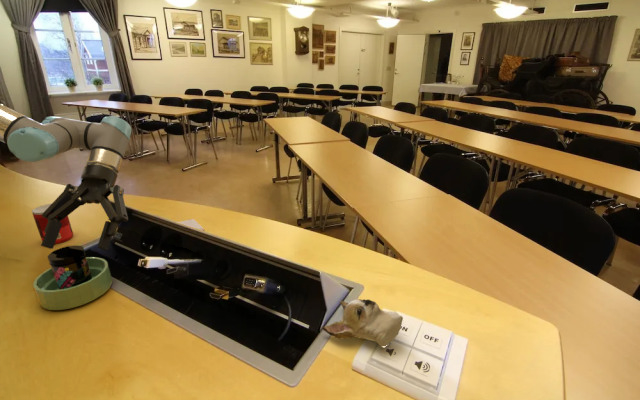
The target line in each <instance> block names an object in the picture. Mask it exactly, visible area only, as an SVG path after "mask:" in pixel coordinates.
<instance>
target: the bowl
mask: <svg viewBox="0 0 640 400" xmlns="http://www.w3.org/2000/svg"><path fill="white" fill-rule="evenodd" d="M86 258H87V262H88V265H89V269H90V272H91V275H92V279H91V280H89V281H87V282H85V283H82V284H80V285H77V286H74V287H70V288H67V289H60V290H59V289H58V286H57V283H56V280H55V277H54V274H53V271H52V269H51V267H50V268H48V269H46V270H45V271H43V272H42V273H40V274H38V276H37V277H36V278H35V279H34V280H33V283H32V288H33V290H34V292H35V295H36V298H37V301H38V303H39V305H40V306H41V308H43V309H46V310H48V311H63V310H68V309H73V308H74V309H75V308H77V307H79V306H83V305H86V304H89V303H90V302H92V301H95V300H96V299H98V298H99V297H102V295H104V294H105V293H106V292H107V291H108V290H109V289H110V288H111V286H112V284H113V277H112V274H111V269H110V266H109V262H108V261H107V260H106V259H105V258H101V257H97V256H90V257H89V256H86Z"/></svg>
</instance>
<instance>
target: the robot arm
mask: <svg viewBox="0 0 640 400" xmlns="http://www.w3.org/2000/svg"><path fill="white" fill-rule="evenodd" d="M131 135H132V127H131V125H130V124H129V123H128V121H126V120H124V119H122V118H121V117H119V116H118V117H117V116H113V115H110V116H105V117H103V118H102V120H100V123H99V122H90V121H84V120H79V119H73V118H68V117H65V116H60V117H59V116H51V115H50V116H46V117H45V118H44V120H42V122H39V121H36V120H34V119H32V118H30V117H28V116H26V115H24V114H22V113H20V112H18V111H15V110H14V109H12V108H10V107H8V106H5V105H4V104H2V103H0V142H2V143H4V144H7V147H8V150H9V151H10V153H12V154H13V155H14V156H15V158H18V159H19V160H21V161H24V162H29V163H35V162H37V163H38V162H41V161H44V160H50V159H52V158H53V157H56V156H58V155H60V154H63V153H67V152H68V151H71V150H73V149H81V150H86V151H87V150H88V151H90V152H89V154H88V157H87V159H86V161H85V166H84V168H83V170H82V172H81V175H80V184H79V185H78V186H77V185H73V184H71V183H67V184H66V186H65V188H64V189H63V191H62V192H61V193H60V194H59V195H58V196H57V197H56V199H55V200H54V201H52V203H50V204H51V205H50V206H49V207H48V208H47V209H46V210H45V212H44V213H43V214H42V217H44V218H46V219H48V223H47V226H46V229H45V231H44V233H46V234H45V236H44V239H43V241H42V240H41V244H40V246H41V247H43V248H47V249H49V250H52V249H54V247H55V245H56V244H55V242H56V239H57V237H58V234H59V231H60V229H61V226H62V223H61V222H60V221H61V220H63V219H64V218H65V217H66V216H68V217H69V215H71V214H72V213H73V212H75V210H77V209H78V208H80V207H81V206H84V205H86V204H87V205H88V204H89V205H91V204H96V205H100V206H101V207H102V209H103V211H104V213H105V214H106V216H107V220H105V222H104V225H103V228H102V231H101V234H100V237H99V240H98V244H97V247H96V248H99V249H100V250H103V251H108V250H109V247H110V243H111V241H112V237H114V236H116V233H117V230H118V227H119V225H120V224H121V223H127V222H128V221H129V216H128V212H127V209H126V204H125V200H124V194H125V189H124V188H123V187H121V186H120V185H119V184H116V182H117V179H118V174H119V172H120V169H121V166H122V163H123V160H124V156H125V154H126V151H127V148H128V145H129V143H130V141H131ZM110 195H112V197H113V202H114V206H113V205H112V203H111V200H110V199H109V196H110ZM114 207H115V209H114ZM57 216H58V217H57Z"/></svg>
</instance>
